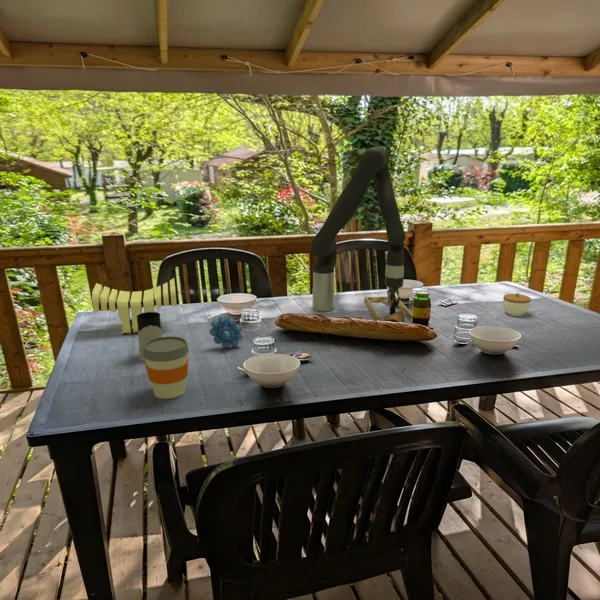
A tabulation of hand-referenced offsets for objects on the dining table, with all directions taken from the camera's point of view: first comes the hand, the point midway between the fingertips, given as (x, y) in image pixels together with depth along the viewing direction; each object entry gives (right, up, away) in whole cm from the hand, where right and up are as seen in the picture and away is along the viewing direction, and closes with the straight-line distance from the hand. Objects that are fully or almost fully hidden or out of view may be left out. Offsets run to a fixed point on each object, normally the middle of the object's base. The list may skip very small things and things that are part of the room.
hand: (392, 314), depth 209 cm
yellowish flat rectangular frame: (-1, +1, +8) cm, 8 cm away
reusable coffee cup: (-78, -21, -64) cm, 103 cm away
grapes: (-65, -11, -33) cm, 74 cm away
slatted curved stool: (-104, -5, -12) cm, 104 cm away
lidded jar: (+54, 0, +4) cm, 54 cm away
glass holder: (-91, -13, -37) cm, 99 cm away
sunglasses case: (-1, -4, -9) cm, 10 cm away
